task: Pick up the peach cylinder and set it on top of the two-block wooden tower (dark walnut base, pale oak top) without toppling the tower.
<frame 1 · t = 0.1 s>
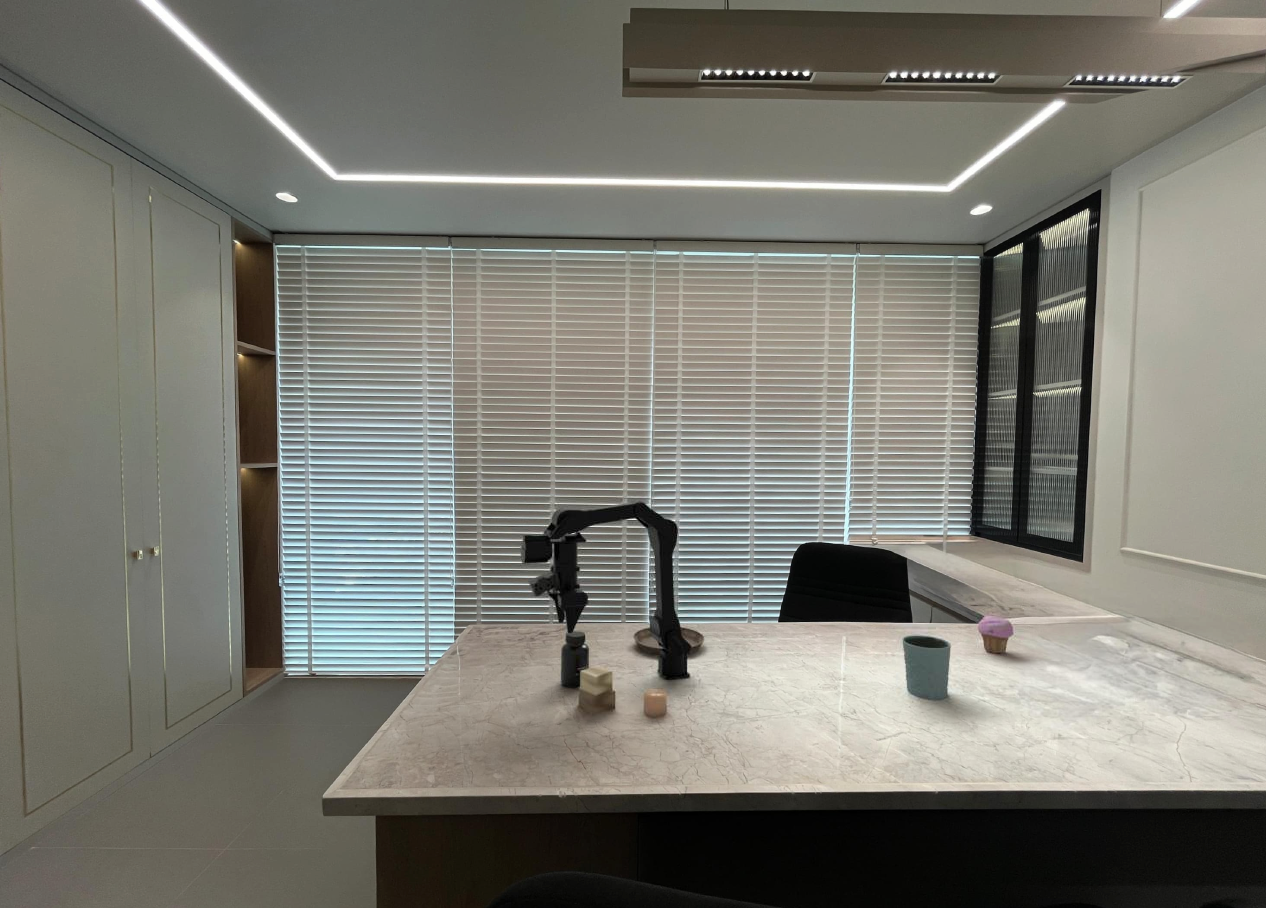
hand: (565, 627, 140), 15 cm above the table, fingers open, 9 cm apart
peach cylinder: (655, 712, 127), on the table
oak block: (596, 689, 130), point 4 cm above the table, touching walnut block
supplement bottle: (574, 683, 144), on the table
cupcake: (995, 652, 169), on the table
plant saucer: (668, 647, 172), on the table
walnut block: (596, 707, 130), on the table, touching oak block
teal cup: (926, 693, 139), on the table
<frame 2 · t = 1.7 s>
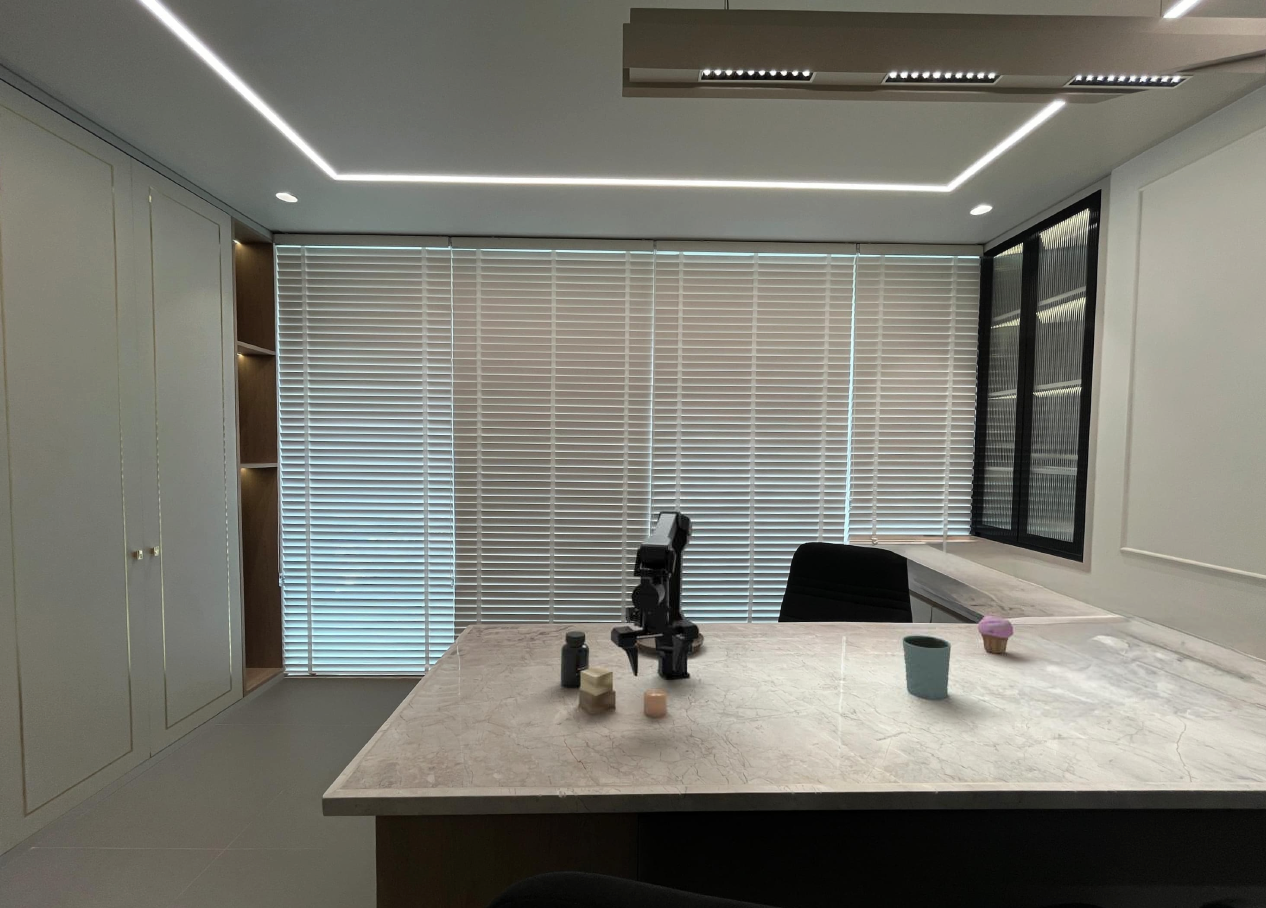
hand: (655, 672, 128), 8 cm above the table, fingers open, 9 cm apart
nothing on the table moved.
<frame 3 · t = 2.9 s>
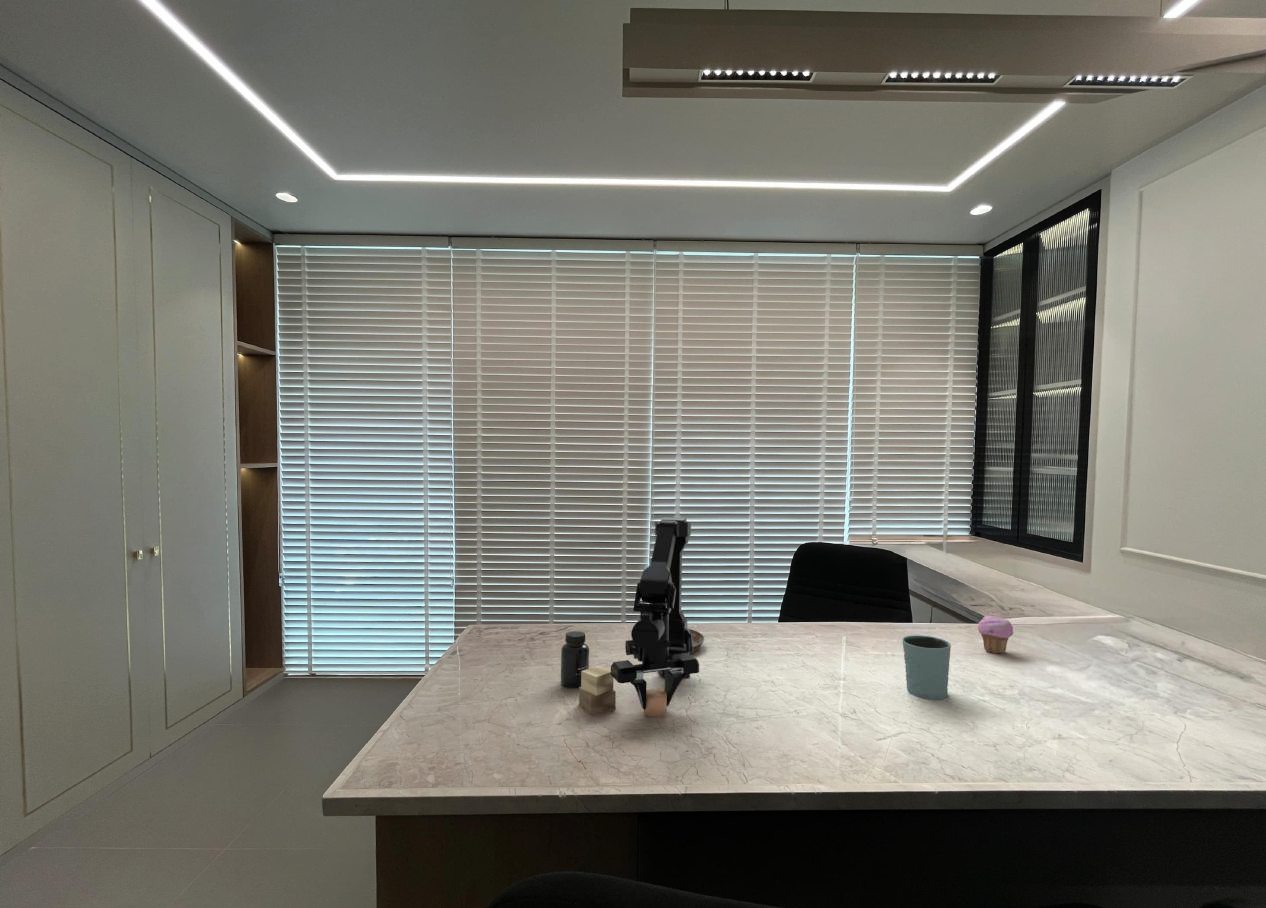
hand: (655, 707, 127), 1 cm above the table, fingers closed on peach cylinder, 5 cm apart
peach cylinder: (655, 711, 127), on the table, touching gripper
oak block: (597, 689, 130), point 4 cm above the table
walnut block: (597, 707, 130), on the table
everything else where it was.
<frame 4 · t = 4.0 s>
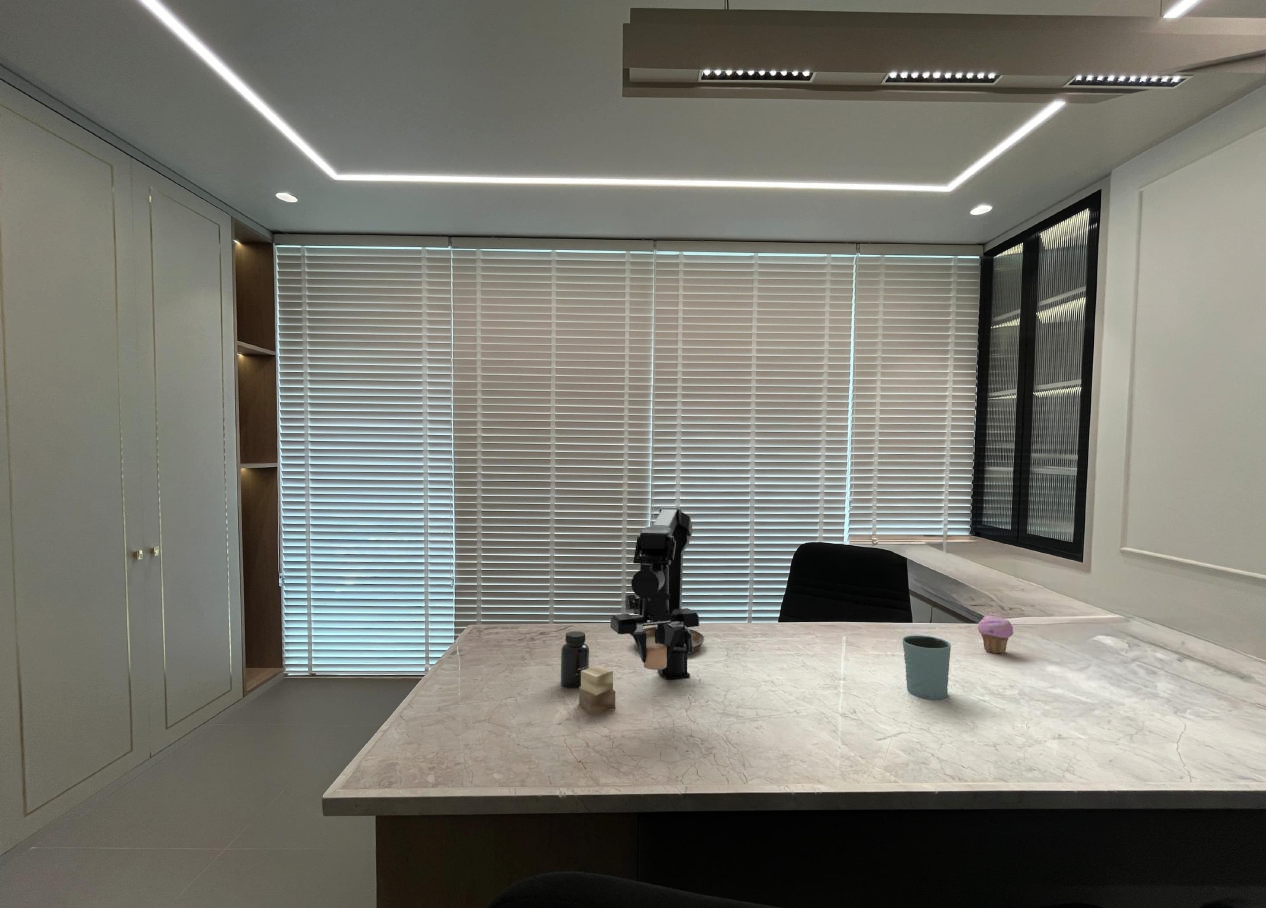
hand: (655, 660, 127), 11 cm above the table, fingers closed on peach cylinder, 5 cm apart
peach cylinder: (655, 665, 127), point 10 cm above the table, touching gripper
oak block: (596, 688, 130), point 4 cm above the table, touching walnut block
walnut block: (597, 707, 130), on the table, touching oak block
everything else where it was.
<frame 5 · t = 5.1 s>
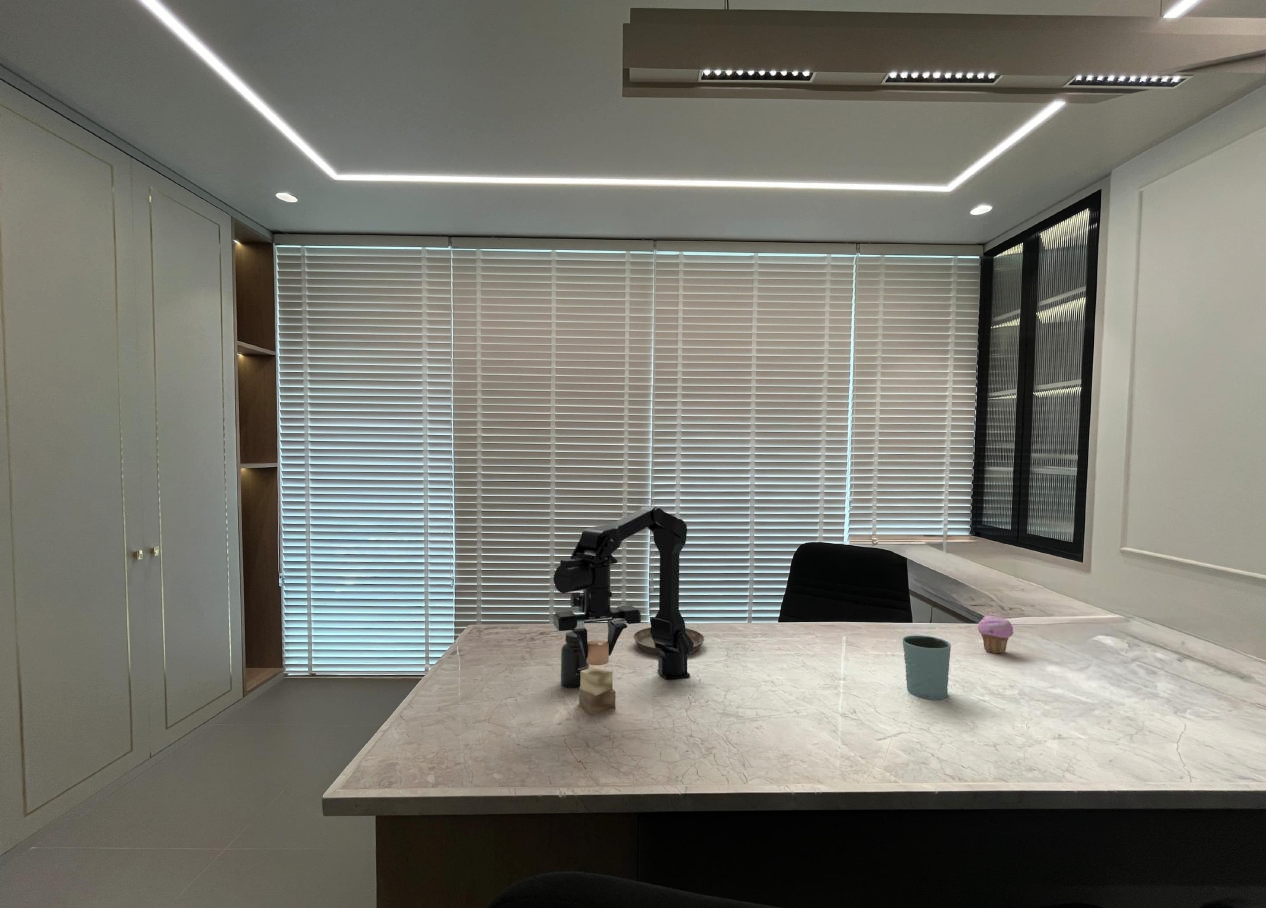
hand: (597, 656, 130), 11 cm above the table, fingers closed on peach cylinder, 5 cm apart
peach cylinder: (597, 661, 130), point 10 cm above the table, touching gripper
everything else where it was.
when the fingers open (11 cm above the table, at t = 5.5 s): peach cylinder drops 2 cm, resting on oak block.
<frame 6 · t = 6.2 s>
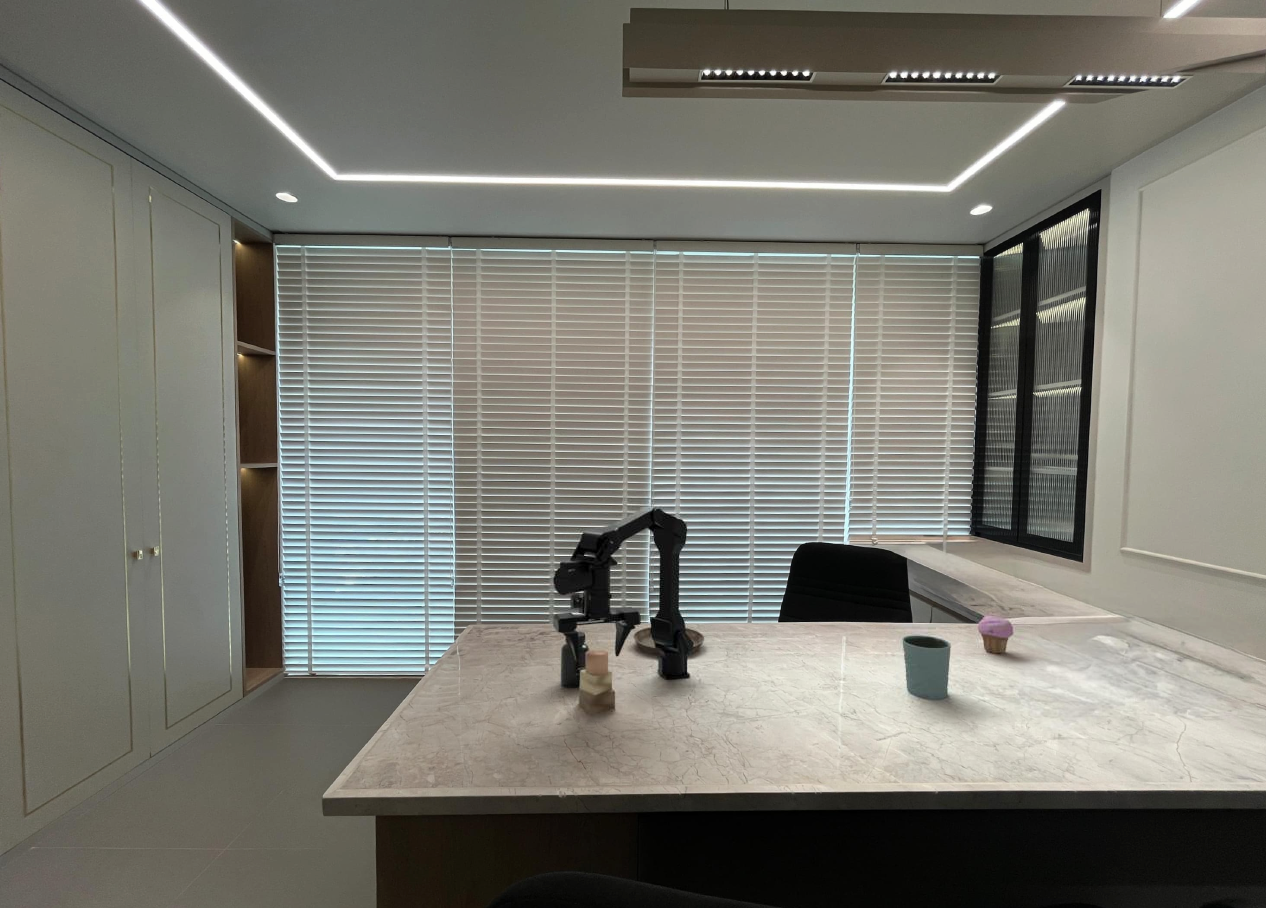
hand: (597, 658, 130), 11 cm above the table, fingers open, 9 cm apart
peach cylinder: (596, 671, 130), point 8 cm above the table, touching oak block
oak block: (595, 688, 130), point 4 cm above the table, touching peach cylinder
walnut block: (596, 707, 130), on the table
everything else where it was.
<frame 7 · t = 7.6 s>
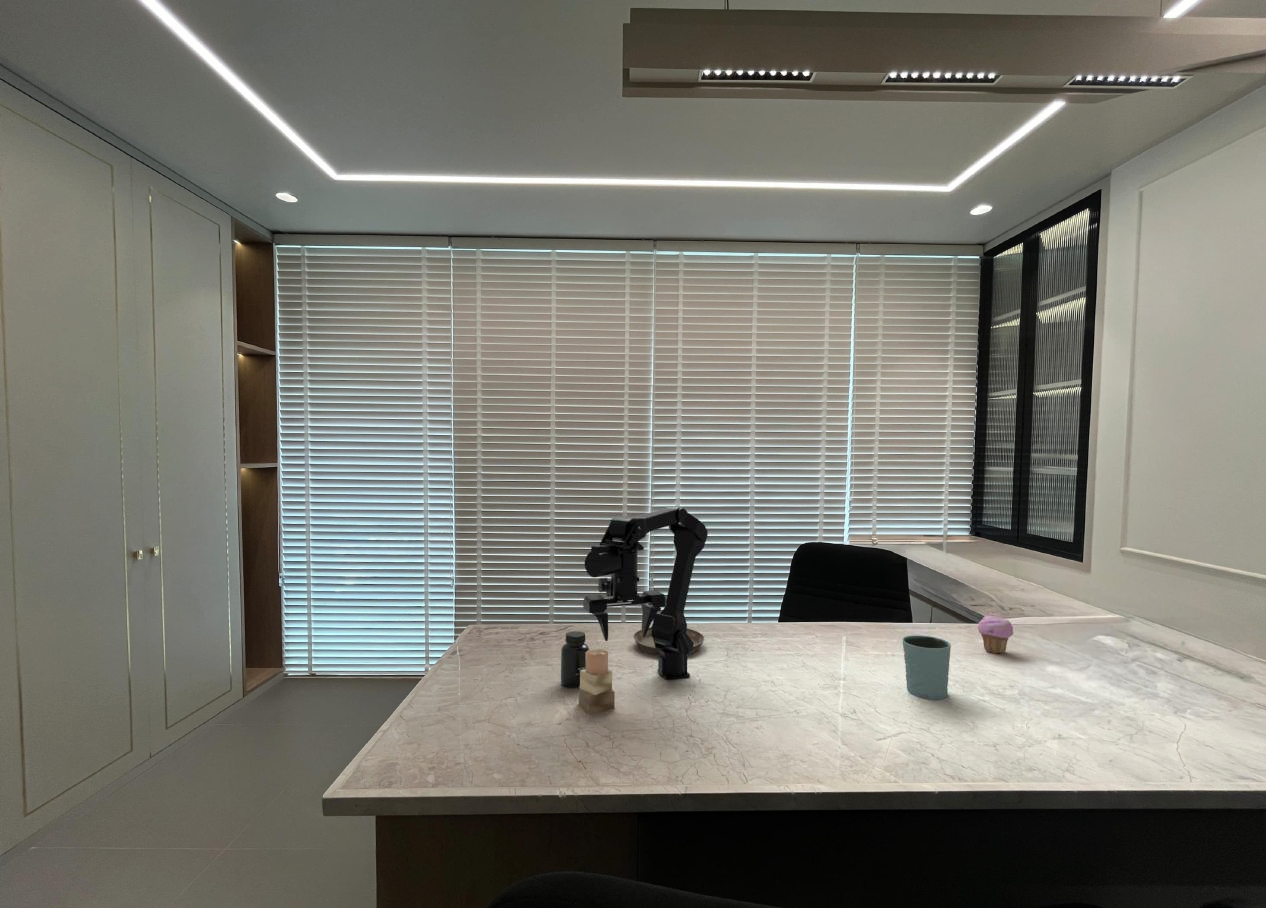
hand: (625, 638, 137), 13 cm above the table, fingers open, 9 cm apart
peach cylinder: (596, 670, 130), point 8 cm above the table
oak block: (596, 688, 130), point 4 cm above the table, touching walnut block
walnut block: (596, 706, 130), on the table, touching oak block
everything else where it was.
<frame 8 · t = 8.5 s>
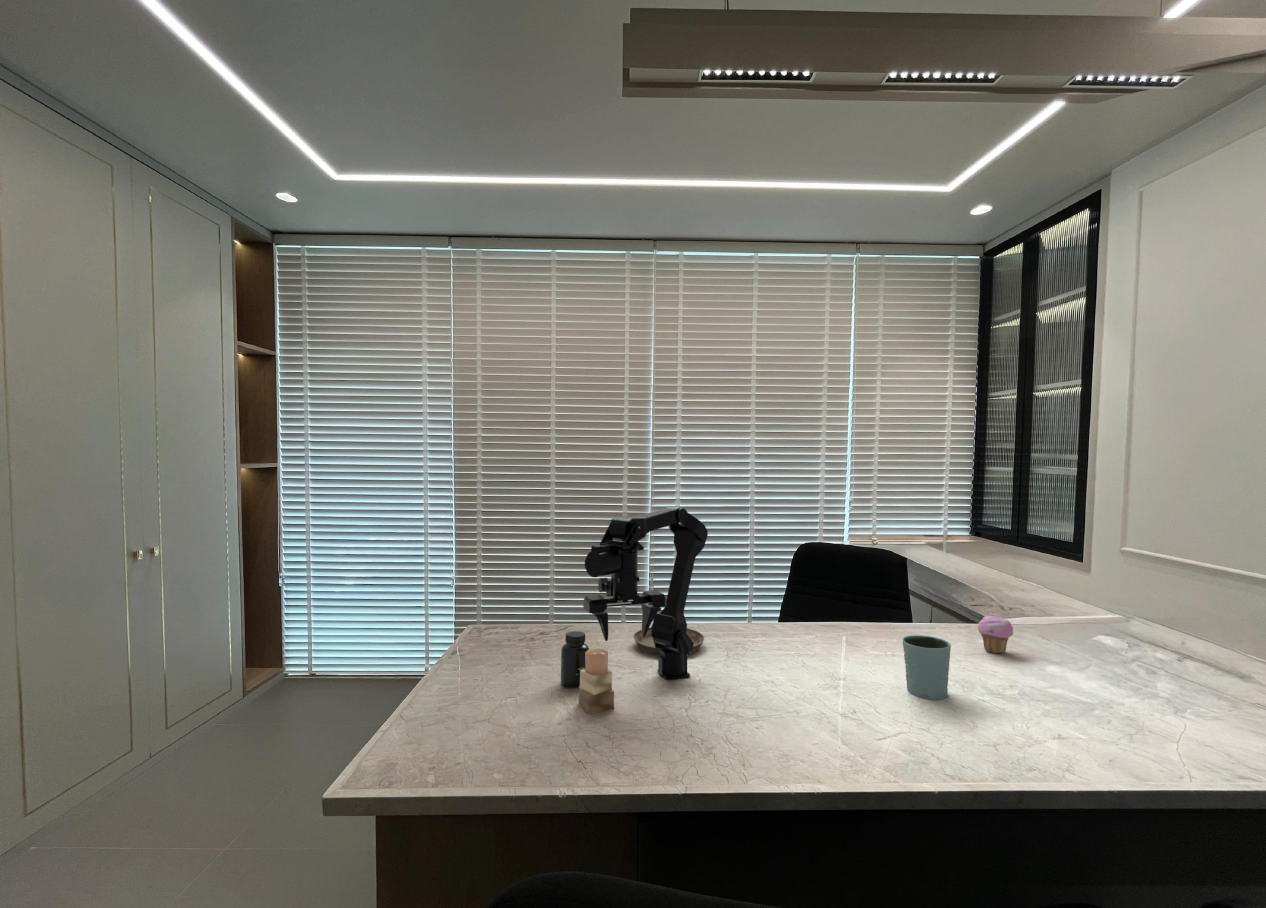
hand: (625, 638, 137), 13 cm above the table, fingers open, 9 cm apart
peach cylinder: (596, 670, 130), point 8 cm above the table, touching oak block
oak block: (595, 688, 130), point 4 cm above the table, touching peach cylinder, walnut block
everything else where it was.
at the end: peach cylinder 0.0 cm off-centre on the walnut block, point 8.0 cm above the walnut block's base; oak block tilted 0°; the gripper is holding nothing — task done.
